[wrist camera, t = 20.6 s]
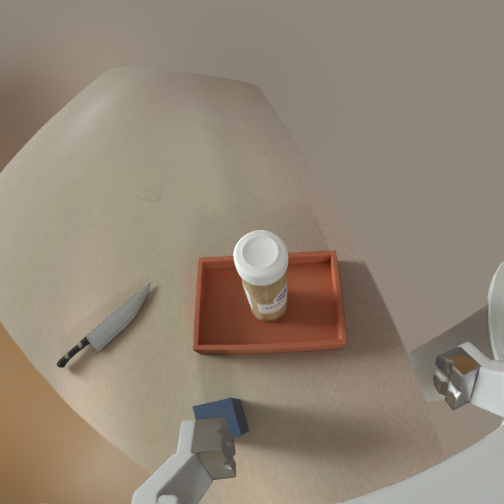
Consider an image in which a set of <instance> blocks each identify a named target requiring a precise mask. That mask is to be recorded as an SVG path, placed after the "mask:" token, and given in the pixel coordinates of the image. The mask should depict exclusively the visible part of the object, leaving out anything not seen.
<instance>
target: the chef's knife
mask: <svg viewBox="0 0 504 504" xmlns="http://www.w3.org/2000/svg"><path fill="white" fill-rule="evenodd" d="M149 287H150V283H149V284H148V285H147V286H145V287H144V288H143V289H142V290H140V291H139V292H138V293H137V294H135V295H134V296H133V297H132V298H130V299H129V300H128V301H127V302H125V303H124V304H123V305H122V306H121V307H119V308H118V309H117V310H116V311H115V312H113V313H112V314H111V315H110V316H109V317H108V318H106V319H105V320H104V321H103V322H102V323H101V324H99V325H98V326H97V327H96V328H95V329H94V330H92V331H91V332H90V333H89V334H88V335H87V336H86V337H85V338H83V339H82V340H81V341H80V342H79V343H78V344H77V345H76V346H75V347H74V348H73V349H71V350H70V351H69V352H68V353H67V354H66V355H65V356H63V357H62V358H61V359H60V360H59V361H58V363H57V366H58V367H65V365H66V363H67V362H68V361H69V360H70V358H72V357H73V356H74V355H75V354H76V353H77V352H79V351H80V350H82V349H83V348H84V347H85V346H87V345H88V344H90V345H92V346H93V347H94V348H95V349H96V350H97V351H98V352H99V351H100V350H101V349H102V348H103V347H104V346H105V345H106V344H108V343H109V342H110V341H111V340H112V339H113V338H114V337H115V336H116V335H118V334H119V333H120V332H121V331H122V330H123V329H124V328H125V327H126V326H128V324H129V323H130V322H131V321H132V320H133V319H134V317H135V316H136V314H137V313H138V311H139V309H140V307H141V306H142V304H143V302H144V300H145V299H146V297H147V295H148V291H149Z"/></svg>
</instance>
